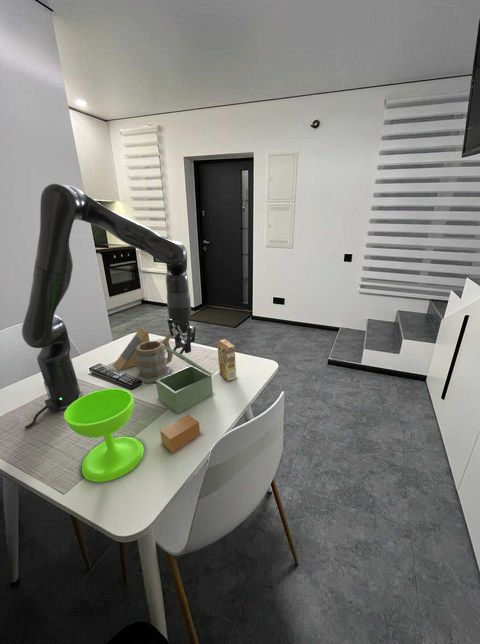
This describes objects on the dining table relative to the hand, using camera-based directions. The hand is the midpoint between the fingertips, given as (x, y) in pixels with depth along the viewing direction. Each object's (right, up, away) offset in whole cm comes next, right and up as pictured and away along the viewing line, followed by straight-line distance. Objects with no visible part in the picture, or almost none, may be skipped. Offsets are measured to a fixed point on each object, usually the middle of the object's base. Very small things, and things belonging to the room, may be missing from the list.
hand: (183, 349), depth 102 cm
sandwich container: (-33, -8, +33) cm, 47 cm away
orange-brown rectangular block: (+3, -27, -14) cm, 30 cm away
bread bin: (-1, -18, +6) cm, 19 cm away
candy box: (+13, -12, +21) cm, 28 cm away
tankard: (-17, -11, +25) cm, 32 cm away
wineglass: (-14, -30, -21) cm, 39 cm away
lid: (0, -4, +2) cm, 5 cm away
